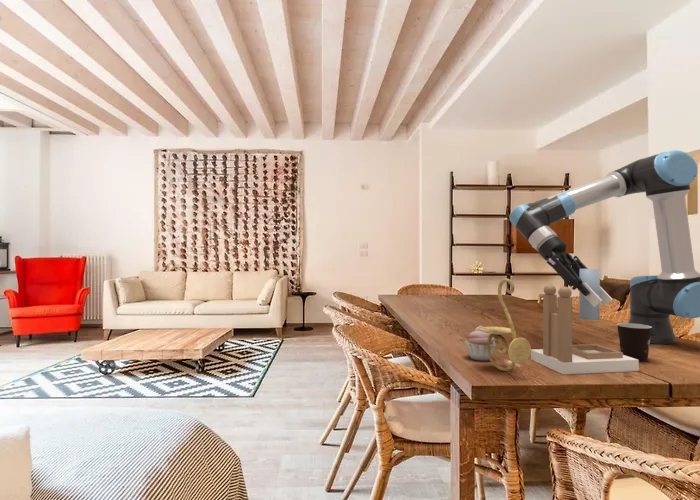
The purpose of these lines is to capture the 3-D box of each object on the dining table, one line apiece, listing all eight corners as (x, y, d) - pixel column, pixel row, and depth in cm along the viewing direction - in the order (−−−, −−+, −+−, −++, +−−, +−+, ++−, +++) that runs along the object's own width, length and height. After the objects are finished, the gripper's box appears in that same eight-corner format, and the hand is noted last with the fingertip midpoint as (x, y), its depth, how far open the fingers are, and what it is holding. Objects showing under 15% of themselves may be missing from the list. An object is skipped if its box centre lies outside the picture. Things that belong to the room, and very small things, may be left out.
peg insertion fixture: (598, 356, 128) (598, 281, 128) (638, 371, 113) (638, 286, 113) (530, 359, 125) (530, 282, 125) (563, 374, 110) (563, 287, 110)
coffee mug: (641, 364, 119) (641, 329, 119) (610, 357, 127) (610, 324, 127) (663, 359, 125) (663, 325, 125) (632, 353, 132) (632, 321, 132)
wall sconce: (535, 376, 108) (535, 279, 108) (504, 379, 105) (504, 280, 105) (500, 362, 122) (500, 276, 122) (472, 365, 119) (472, 276, 119)
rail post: (591, 316, 122) (591, 268, 122) (603, 319, 117) (604, 269, 117) (575, 317, 122) (575, 268, 122) (587, 320, 117) (587, 269, 117)
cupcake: (475, 363, 121) (475, 328, 121) (458, 355, 130) (458, 323, 130) (504, 361, 123) (503, 327, 123) (485, 353, 132) (485, 321, 132)
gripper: (556, 252, 137) (609, 309, 123) (522, 252, 127) (576, 314, 114) (572, 235, 133) (629, 292, 119) (538, 234, 123) (596, 296, 109)
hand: (603, 303), depth 116 cm, fingers closed on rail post, 5 cm apart
